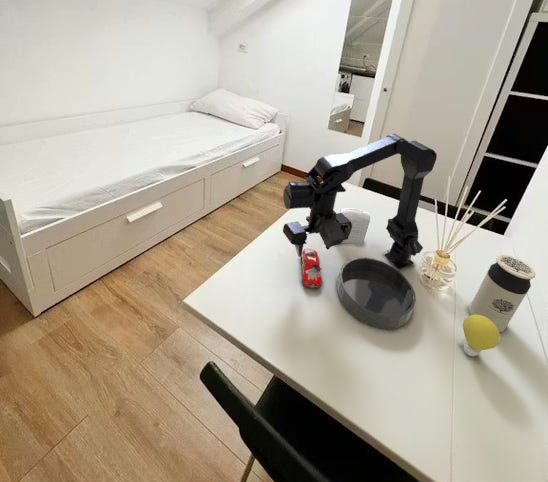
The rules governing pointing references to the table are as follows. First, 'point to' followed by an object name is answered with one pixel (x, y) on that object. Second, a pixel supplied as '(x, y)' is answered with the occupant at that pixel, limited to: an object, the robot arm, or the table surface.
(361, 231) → the white ribbed slab
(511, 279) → the white canister
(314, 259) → the race car
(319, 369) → the table surface
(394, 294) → the pan
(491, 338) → the light bulb
